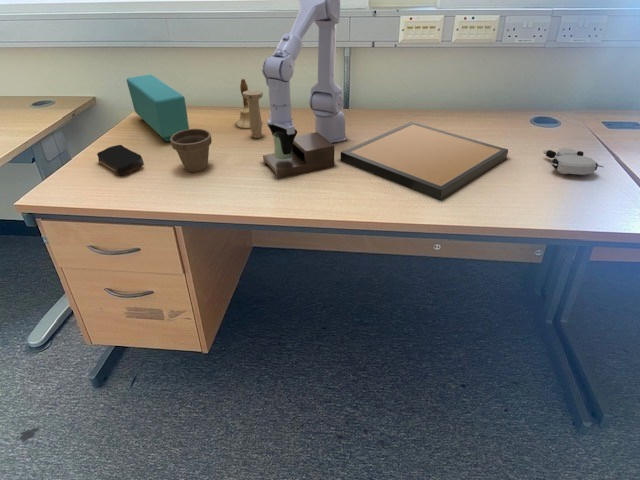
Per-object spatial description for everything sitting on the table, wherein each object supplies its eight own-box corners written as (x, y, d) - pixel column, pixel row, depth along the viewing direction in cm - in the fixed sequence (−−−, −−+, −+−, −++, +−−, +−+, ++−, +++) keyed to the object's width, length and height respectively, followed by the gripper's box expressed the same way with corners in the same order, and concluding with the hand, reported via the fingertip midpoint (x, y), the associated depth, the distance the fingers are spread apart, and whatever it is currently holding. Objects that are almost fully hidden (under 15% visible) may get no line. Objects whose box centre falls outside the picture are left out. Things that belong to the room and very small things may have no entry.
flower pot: (202, 178, 130) (196, 145, 124) (168, 173, 133) (161, 140, 128) (223, 162, 139) (218, 130, 133) (191, 157, 142) (185, 126, 136)
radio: (195, 139, 154) (187, 95, 146) (165, 146, 150) (155, 101, 141) (162, 112, 178) (154, 73, 169) (135, 118, 173) (125, 77, 165)
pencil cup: (288, 150, 136) (287, 129, 132) (295, 157, 132) (294, 135, 128) (272, 154, 134) (270, 132, 130) (278, 160, 130) (277, 138, 126)
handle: (263, 140, 153) (259, 95, 144) (245, 138, 154) (240, 94, 146) (268, 134, 157) (264, 90, 148) (250, 133, 158) (245, 89, 150)
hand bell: (232, 125, 165) (226, 80, 156) (249, 118, 170) (244, 75, 161) (247, 130, 161) (242, 84, 152) (264, 123, 166) (260, 78, 157)
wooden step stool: (317, 151, 144) (317, 131, 140) (334, 166, 135) (334, 145, 131) (263, 163, 138) (261, 142, 134) (277, 179, 129) (275, 157, 125)
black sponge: (147, 168, 136) (145, 157, 134) (120, 178, 131) (117, 166, 129) (122, 154, 146) (119, 143, 143) (96, 162, 141) (92, 151, 138)
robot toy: (538, 159, 138) (553, 178, 125) (542, 145, 136) (557, 162, 123) (581, 161, 137) (600, 180, 124) (585, 146, 134) (605, 164, 122)
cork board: (506, 158, 138) (410, 129, 159) (508, 149, 136) (411, 121, 157) (440, 200, 117) (340, 160, 138) (442, 190, 116) (340, 152, 137)
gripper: (257, 98, 128) (262, 143, 136) (275, 113, 117) (279, 162, 125) (281, 94, 131) (284, 139, 138) (301, 109, 120) (303, 157, 127)
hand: (283, 150), depth 132 cm, fingers closed on pencil cup, 5 cm apart
